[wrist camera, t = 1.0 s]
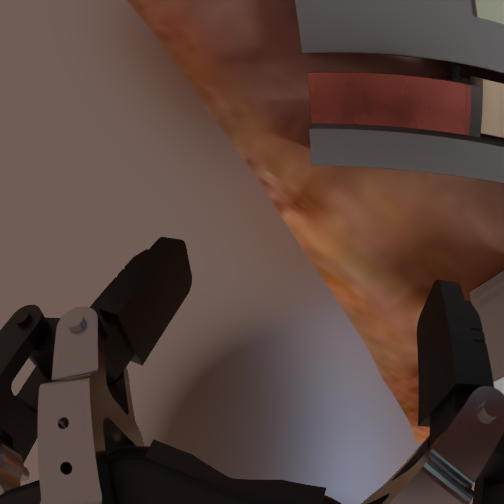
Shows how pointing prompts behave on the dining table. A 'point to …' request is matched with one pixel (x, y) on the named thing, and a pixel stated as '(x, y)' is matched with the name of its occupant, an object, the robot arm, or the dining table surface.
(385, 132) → the pocket board
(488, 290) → the supplement box
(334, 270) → the dining table surface
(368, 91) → the tip lever
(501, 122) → the slab
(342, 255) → the dining table surface
